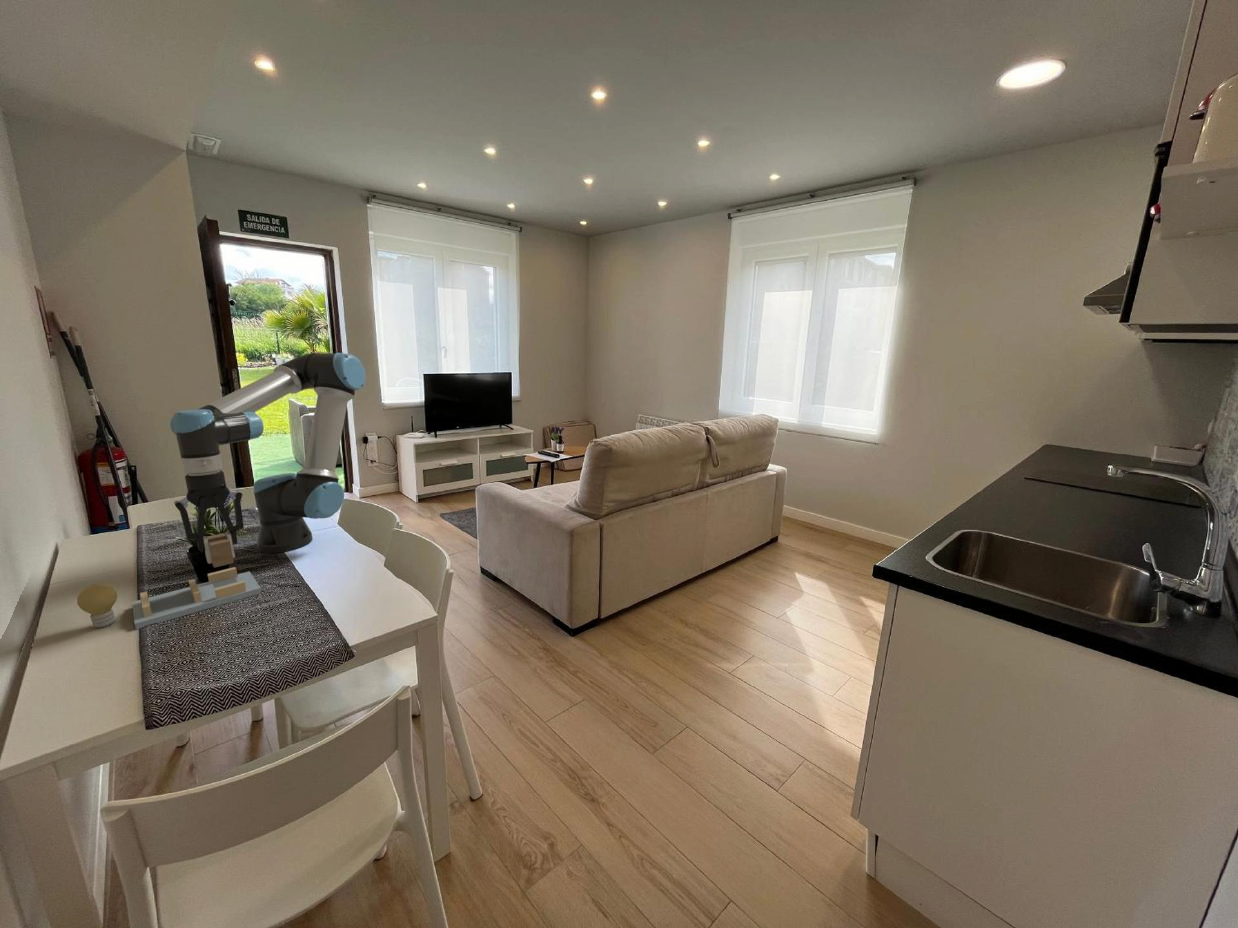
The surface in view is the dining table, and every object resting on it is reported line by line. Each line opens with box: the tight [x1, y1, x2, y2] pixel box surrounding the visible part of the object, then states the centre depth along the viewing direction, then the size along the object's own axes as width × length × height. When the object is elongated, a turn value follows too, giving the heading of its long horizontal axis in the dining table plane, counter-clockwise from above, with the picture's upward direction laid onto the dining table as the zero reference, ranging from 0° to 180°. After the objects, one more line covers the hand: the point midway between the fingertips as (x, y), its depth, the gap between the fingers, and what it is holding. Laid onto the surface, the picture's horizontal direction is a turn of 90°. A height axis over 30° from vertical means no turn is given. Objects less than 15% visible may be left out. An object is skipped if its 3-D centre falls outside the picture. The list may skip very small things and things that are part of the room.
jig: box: [131, 566, 262, 630], centre depth 126 cm, size 14×24×4 cm, turn 136°
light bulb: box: [76, 583, 118, 629], centre depth 114 cm, size 6×6×10 cm
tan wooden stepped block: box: [206, 532, 235, 568], centre depth 127 cm, size 8×4×6 cm, turn 46°
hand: (221, 558), depth 128 cm, fingers closed on tan wooden stepped block, 4 cm apart
